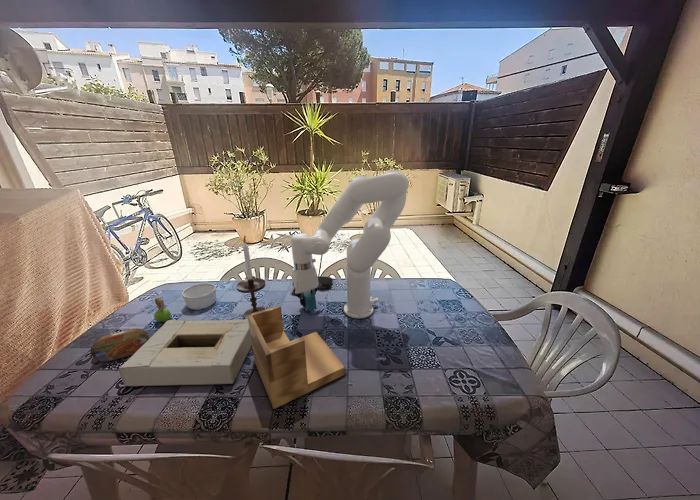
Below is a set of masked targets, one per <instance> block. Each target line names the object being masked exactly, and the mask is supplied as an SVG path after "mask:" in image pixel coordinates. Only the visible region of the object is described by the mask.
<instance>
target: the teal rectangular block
mask: <svg viewBox="0 0 700 500" xmlns="http://www.w3.org/2000/svg"><path fill="white" fill-rule="evenodd" d="M303 297H304V299H305V305H306V307H304V308H305V309H306V311H308V312H312V311H314V310H317V309H318V308H317V301H316V300H317V299H316V295H315V296H314V295H313V294H312V293H311V292H310V290H309V291H306V292H304V294H303Z"/></svg>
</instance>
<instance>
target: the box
mask: <svg viewBox="0 0 700 500" xmlns="http://www.w3.org/2000/svg"><path fill="white" fill-rule="evenodd" d="M251 347H252V342H251V335H250V329H249V323H248V319H244V318H242V319H239V318H237V319H211V320H210V319H209V320H207V319H205V320H186V319H183V320H181V319H168V320H167V321H165V322H164V324H163V325H162V326H161V327H160V328H158V330H156V332H154V334H153V335H151V337H149V340H148V341H147V342H146V343H145V344H144V345H143V346H142V347H141V348H140V349H139V350H138V351H137V352H136V353H135V354H133V355H131V356H130V357H129V358H128V359H127V360H126V361H125V362H124V363H123V364H122V365H121V366H119V368H118V373H119V376H120V379H121V381H122V383H123V385H124V386H125V387H148V386H149V387H150V386H187V385H189V386H191V385H193V386H195V385H198V386H199V385H231V384H234V383H235V380H236V379H237V377H238V374H239V372H240V371H241V368H242V366H243V364H244V362H245V359H246V358H247V356H248V353H249V352H250V349H251Z"/></svg>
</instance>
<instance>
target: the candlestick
mask: <svg viewBox="0 0 700 500" xmlns="http://www.w3.org/2000/svg"><path fill="white" fill-rule="evenodd" d="M246 238H247V237H246V235H245V234H244V235H243V246H242V249H243V251H242V252H243V257H244V264H245V270H246V277H244V279H243V280H240V281H239V282H238V283H237V284H236V291H237V292H238V293H241V294H250V298H249V302H250V303H251V304H250V306H251V307H252V308H250V309H248V310H246V311H245V312H244V313H243V319H248V316H247V315H248V314H252V313H255V312H258V311H262V310H265V309H266V308H265V307H261V306H260V307H259V306H258V302H257V300H258V298H257V297H256V296H255V295H256V294H255V293H257V292H260V291H262V290H263V289H264V288H265V287H266V286H267V285H266V280H264V279H263V278H261V277H256V276H255V275H253V270H252V269H253V268H252V264H251V263H252V262H251V256H250V249H249V245H248V244H247V242H246V241H247V240H246Z"/></svg>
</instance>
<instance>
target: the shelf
mask: <svg viewBox="0 0 700 500" xmlns="http://www.w3.org/2000/svg"><path fill="white" fill-rule="evenodd" d="M247 316H248V323H249V329H250V335H251V342H252V345H251V347H252V353H253V360H254V364H255V366H256V369H257V372H258V374H259V376H260V379H261V381H262V384H263V387H264V388H265V389H264V390H265V392H266V395H267V396H268V399H269V401H270V404H271V406H272V409H273V410H276V409H277V408H279V407H281V406H283V405H285V404H287V403H290V402H291V401H294V400H296V399H298V398H299V397H302V396H304V395H306V394H308V393H310V392H312V391H315V390H316V389H318V388H320V387H322V386H324V385H327V384H328V383H331V382H332V381H335V380H336V379H339V378H341V377H343V376H345V375H346V366H344V364H343V363H342V362H341V361H340V359H339V358H338V356H337V355H336V354H335V353H334V352H333V351H332V350H331V348H330V347H329V346H328V344H327V343H326V342H325V341H324V339H323V338H322V337H321V335H319V333H318V332H317V331H314V332H311V333H309V334H306V335H303V336H301V337H298V338H295V339H292V340H290V339H289V337H288V335H287V334H286V332H285V331H284V325H283V323H284V322H283V315H282V306H281V305H280V304H279V305H275V306H272V307H268V308H265V310H262V311H258V312H255V313H252V314H248V315H247Z"/></svg>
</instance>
